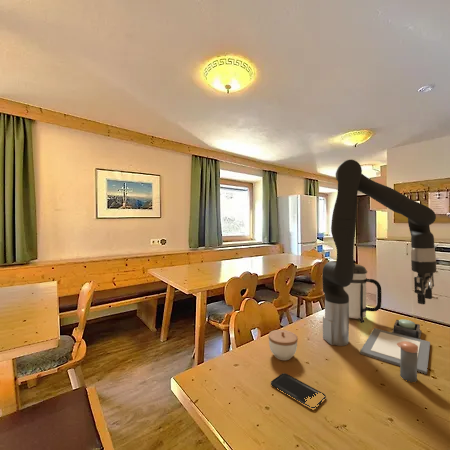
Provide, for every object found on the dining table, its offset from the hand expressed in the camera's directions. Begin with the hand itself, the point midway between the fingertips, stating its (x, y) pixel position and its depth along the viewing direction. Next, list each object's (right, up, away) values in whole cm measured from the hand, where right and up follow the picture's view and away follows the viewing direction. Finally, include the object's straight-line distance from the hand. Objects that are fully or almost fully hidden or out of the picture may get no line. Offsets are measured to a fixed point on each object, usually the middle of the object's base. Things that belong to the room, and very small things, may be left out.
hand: (425, 301), depth 98 cm
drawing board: (-10, -20, +2) cm, 22 cm away
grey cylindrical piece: (-18, -20, -16) cm, 31 cm away
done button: (+5, -17, +16) cm, 24 cm away
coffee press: (-10, -19, +33) cm, 39 cm away
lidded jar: (-55, -20, -2) cm, 59 cm away
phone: (-55, -21, -21) cm, 63 cm away
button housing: (+5, -19, +16) cm, 26 cm away
